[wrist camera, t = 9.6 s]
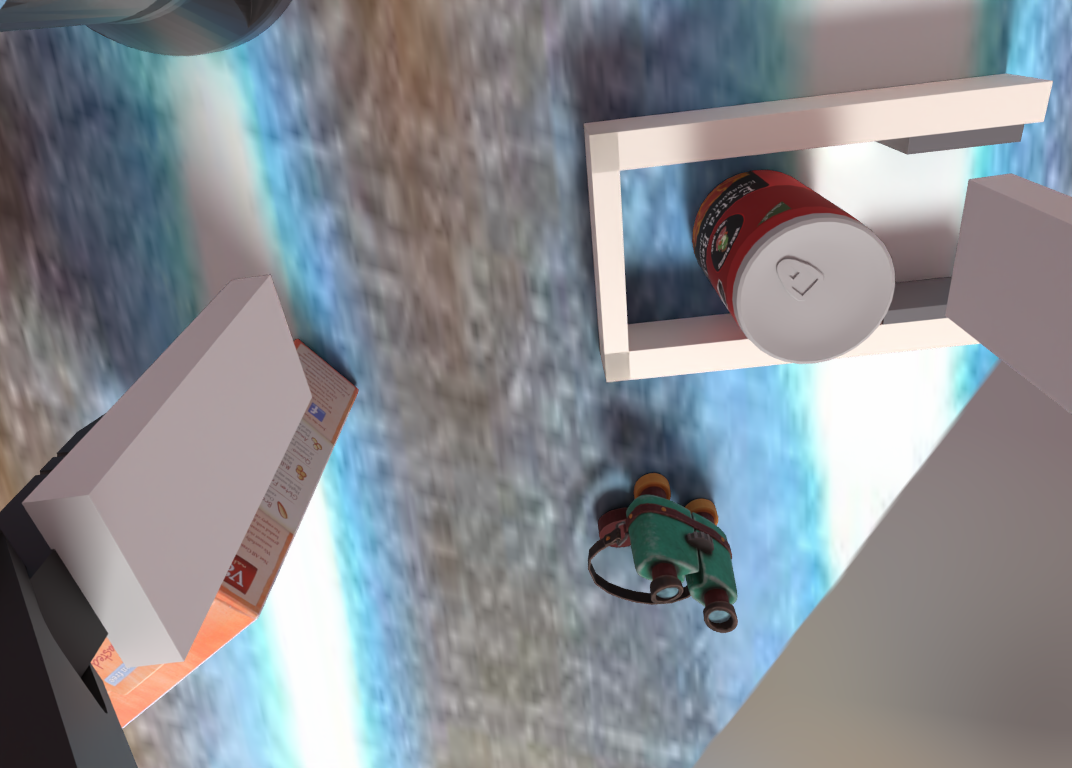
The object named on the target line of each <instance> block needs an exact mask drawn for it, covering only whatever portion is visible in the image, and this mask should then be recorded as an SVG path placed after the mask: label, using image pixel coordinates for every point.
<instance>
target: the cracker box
mask: <svg viewBox="0 0 1072 768" xmlns="http://www.w3.org/2000/svg"><path fill="white" fill-rule="evenodd" d="M294 345H295V348H296V351H297V354H298V357H299V360H300V363H301V366H302V368H303V371H304V374H305V377H306V380H307V383H308V386H309V389H310V392H311V395H312V398H311V400H310V402H309V405H308V407H307V409H306V411H305V413H304V415H303V417H302V419H301V421H300V423H299V425H298V427H297V429H296V431H295V433H294V435H293V438H292V440H291V442H290V444H289V446H288V448H287V450H286V452H285V454H284V456H283V458H282V460H281V462H280V464H279V466H278V469H277V471H276V473H275V475H274V477H273V479H272V481H271V483H270V485H269V487H268V489H267V491H266V493H265V495H264V497H263V499H262V502H261V504H260V506H259V508H258V510H257V512H256V514H255V516H254V518H253V520H252V522H251V524H250V526H249V528H248V530H247V533H246V535H245V537H244V539H243V541H242V543H241V545H240V547H239V549H238V551H237V553H236V555H235V557H234V559H233V561H232V564H231V566H230V568H229V570H228V572H227V574H226V576H225V578H224V580H223V582H222V584H221V586H220V588H219V590H218V592H217V594H216V597H215V599H214V601H213V603H212V605H211V607H210V609H209V611H208V613H207V615H206V617H205V619H204V621H203V623H202V625H201V628H200V630H199V632H198V634H197V636H196V638H195V640H194V642H193V644H192V646H191V648H190V650H189V652H188V654H187V656H186V658H185V661H183V662H174V663H166V664H157V665H148V666H139V667H130V668H126V666H125V664H124V663H123V661H122V660H121V658H120V657H119V655H118V653H117V652H116V650H115V649H114V647H113V646H112V644H111V642H110V641H109V639H108V638H107V637H106V639H105V640H104V642H103V643H102V645H101V647H100V648H99V650H98V651H97V653H96V655H95V656H94V658H93V659H92V661H91V664H92V666H93V667H94V669H95V670H96V672H97V673H98V675H99V676H100V677H101V679H102V680H103V683H104V685H105V688H106V690H107V693H108V695H109V698H110V700H111V703H112V705H113V707H114V710H115V712H116V715H117V717H118V720H119V722H120V725H121V727H122V729H123V728H124V727H125V726H126V725H128V724H129V723H130V722H131V721H133V720H134V719H135V718H136V717H137V716H139V715H140V714H141V713H142V712H144V711H145V710H146V709H147V708H148V707H150V706H151V705H152V704H153V703H155V702H156V701H157V700H158V699H160V698H161V697H162V696H163V695H164V694H166V693H167V692H168V691H169V690H171V689H172V688H173V687H174V686H175V685H177V684H178V683H179V682H180V681H182V680H183V679H184V678H185V677H186V676H188V675H189V674H190V673H191V672H192V671H194V670H195V669H196V668H197V667H199V666H200V665H201V664H202V663H204V662H205V661H206V660H207V659H208V658H210V657H211V656H212V655H213V654H215V653H216V652H217V651H218V650H219V649H221V648H222V647H223V646H224V645H225V644H227V643H228V642H229V641H230V640H232V639H233V638H234V637H235V636H236V635H238V634H239V633H240V632H242V631H243V630H244V629H245V628H247V627H248V626H249V625H250V624H252V623H253V622H254V621H255V620H257V619H258V617H259V615H260V613H261V611H262V609H263V607H264V604H265V602H266V600H267V597H268V595H269V593H270V591H271V589H272V586H273V584H274V582H275V580H276V578H277V575H278V573H279V571H280V569H281V566H282V564H283V562H284V559H285V557H286V555H287V553H288V550H289V548H290V546H291V544H292V541H293V539H294V537H295V535H296V532H297V530H298V528H299V525H300V523H301V521H302V518H303V516H304V514H305V512H306V510H307V507H308V505H309V503H310V500H311V498H312V496H313V494H314V491H315V489H316V487H317V484H318V482H319V480H320V477H321V475H322V473H323V471H324V469H325V466H326V464H327V462H328V460H329V457H330V455H331V453H332V450H333V448H334V446H335V444H336V441H337V439H338V437H339V435H340V433H341V430H342V428H343V426H344V424H345V421H346V419H347V417H348V414H349V412H350V410H351V407H352V405H353V403H354V401H355V398H356V396H357V394H358V390H359V389H357V388H356V387H355V386H354V385H353V384H352V383H351V382H349V381H348V380H347V379H346V378H345V377H343V376H342V375H341V374H340V373H339V372H337V371H336V370H335V369H334V368H333V367H331V366H330V365H329V364H328V363H327V362H325V361H324V360H323V359H322V358H321V357H319V356H318V355H317V354H316V353H315V352H313V351H312V350H311V349H310V348H308V347H307V346H306V345H305V344H304V343H303V342H301V341H300V340H299V339H296V340H295V341H294Z"/></svg>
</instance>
